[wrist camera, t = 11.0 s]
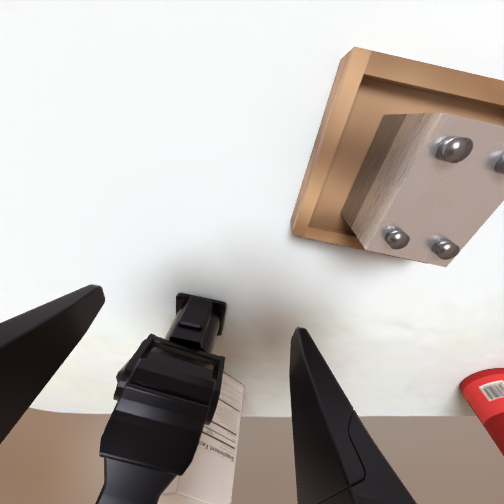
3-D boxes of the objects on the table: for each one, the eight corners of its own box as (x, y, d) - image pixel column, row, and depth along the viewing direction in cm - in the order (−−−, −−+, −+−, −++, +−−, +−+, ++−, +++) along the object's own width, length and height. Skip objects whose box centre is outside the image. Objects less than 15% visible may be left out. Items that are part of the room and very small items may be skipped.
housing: (398, 225, 18) (453, 273, 12) (340, 212, 18) (369, 255, 12) (456, 130, 14) (573, 139, 9) (383, 114, 14) (453, 112, 8)
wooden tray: (409, 246, 21) (427, 263, 18) (290, 220, 21) (292, 234, 18) (512, 98, 14) (562, 94, 12) (340, 59, 14) (354, 46, 12)
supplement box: (213, 398, 42) (186, 516, 30) (178, 377, 39) (131, 499, 27) (246, 386, 39) (231, 516, 26) (210, 362, 36) (174, 496, 23)
